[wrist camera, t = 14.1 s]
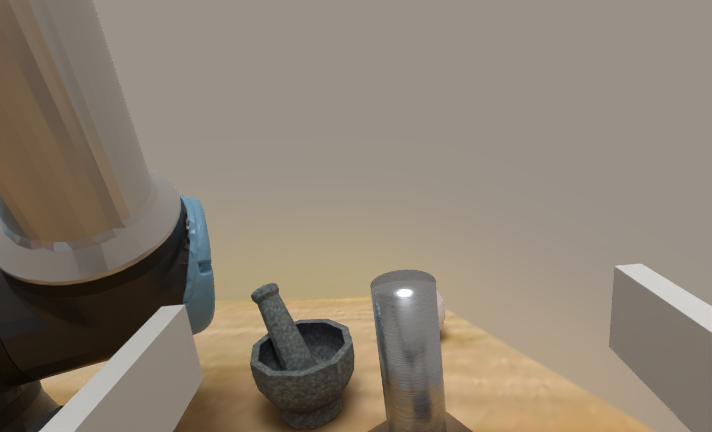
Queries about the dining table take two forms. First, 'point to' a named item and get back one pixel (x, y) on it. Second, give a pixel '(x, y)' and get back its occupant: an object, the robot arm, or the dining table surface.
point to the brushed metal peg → (409, 351)
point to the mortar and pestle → (301, 362)
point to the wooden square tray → (454, 427)
